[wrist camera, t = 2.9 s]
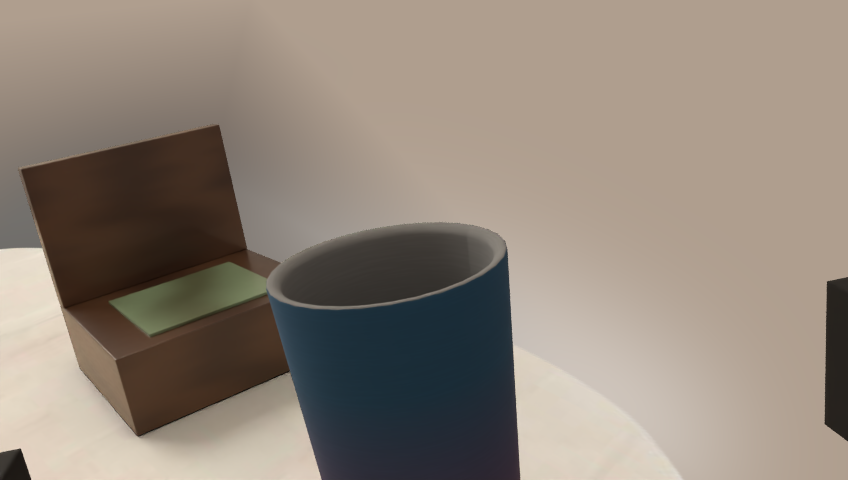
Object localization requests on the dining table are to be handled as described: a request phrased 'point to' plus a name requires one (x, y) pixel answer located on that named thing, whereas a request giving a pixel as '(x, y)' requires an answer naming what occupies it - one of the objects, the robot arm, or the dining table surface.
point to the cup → (403, 352)
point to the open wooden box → (156, 274)
